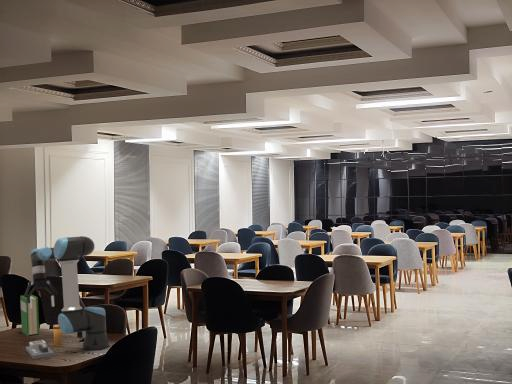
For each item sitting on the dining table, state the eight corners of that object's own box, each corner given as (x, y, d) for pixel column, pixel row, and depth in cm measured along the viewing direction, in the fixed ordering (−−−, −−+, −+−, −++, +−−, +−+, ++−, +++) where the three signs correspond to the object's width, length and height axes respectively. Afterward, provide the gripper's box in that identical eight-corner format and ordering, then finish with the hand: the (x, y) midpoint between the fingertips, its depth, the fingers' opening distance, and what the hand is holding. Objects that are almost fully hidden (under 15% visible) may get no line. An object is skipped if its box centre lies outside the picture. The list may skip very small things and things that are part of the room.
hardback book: (39, 334, 428) (37, 297, 429) (27, 336, 425) (25, 298, 425) (33, 330, 444) (31, 294, 444) (21, 331, 440) (20, 295, 440)
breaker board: (25, 350, 383) (25, 340, 384) (45, 347, 389) (45, 337, 389) (33, 359, 360) (32, 348, 361) (54, 356, 366) (53, 345, 366)
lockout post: (63, 345, 393) (62, 324, 393) (56, 346, 390) (55, 326, 390) (59, 344, 396) (58, 324, 396) (52, 345, 393) (51, 325, 393)
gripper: (56, 273, 423) (60, 306, 417) (16, 276, 408) (19, 310, 402) (60, 270, 417) (64, 304, 411) (20, 273, 402) (23, 308, 397)
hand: (42, 307), depth 407 cm, fingers open, 13 cm apart
